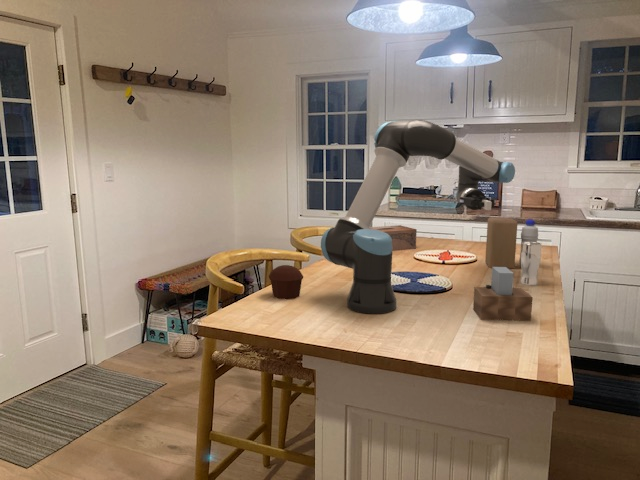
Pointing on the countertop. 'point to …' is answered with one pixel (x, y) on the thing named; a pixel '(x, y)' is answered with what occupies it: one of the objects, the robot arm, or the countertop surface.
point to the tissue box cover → (400, 236)
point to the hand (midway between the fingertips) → (489, 205)
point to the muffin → (286, 282)
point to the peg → (502, 281)
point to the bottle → (529, 233)
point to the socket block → (502, 304)
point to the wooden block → (501, 242)
